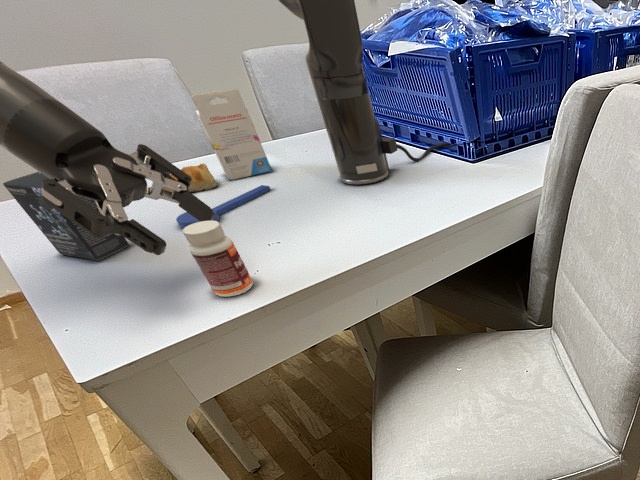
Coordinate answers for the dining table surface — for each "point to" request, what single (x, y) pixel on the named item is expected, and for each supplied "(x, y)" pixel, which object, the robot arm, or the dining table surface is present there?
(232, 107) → the ink box
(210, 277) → the pill bottle
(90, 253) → the box
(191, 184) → the pastry
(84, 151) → the robot arm
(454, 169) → the dining table surface
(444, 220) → the dining table surface
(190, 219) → the spoon
